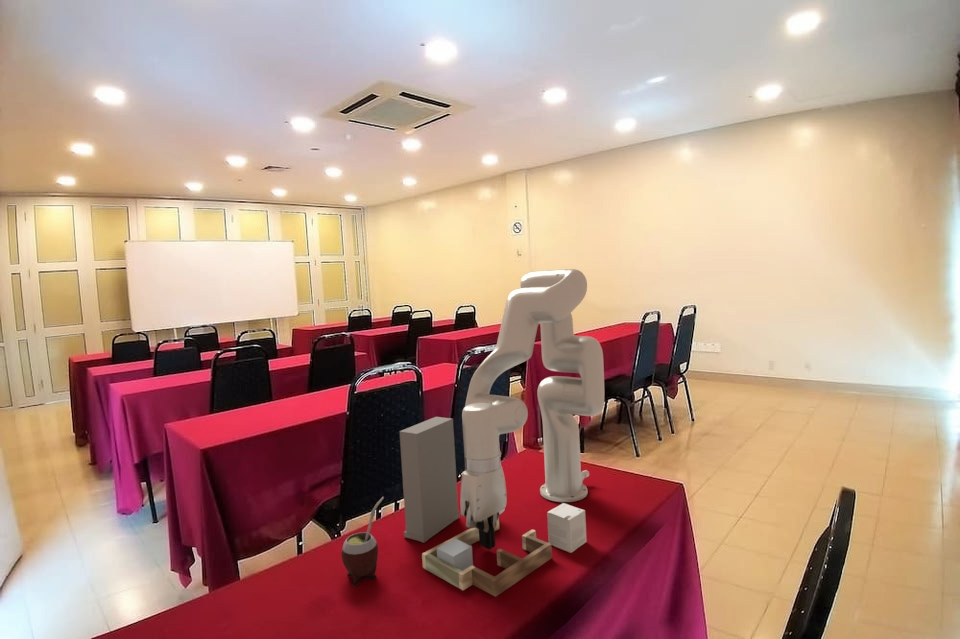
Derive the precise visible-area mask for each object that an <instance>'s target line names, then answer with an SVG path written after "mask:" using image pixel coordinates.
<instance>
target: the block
mask: <svg viewBox="0 0 960 639" xmlns="http://www.w3.org/2000/svg"><path fill="white" fill-rule="evenodd" d="M437 558H439V559H441V560H443V561H445V562H446V563H448V564H450V565H452V566H454V567H456V568H458V569H460V570H462V571H463V570H465V569H467V568H468V567H470V566H474V564H473V563H474V560H473V546H472V545H468V544H466V543H464V542H462V541H460V540H458V539H453V540H451V541H449V542H447V543H445V544H443V545H441V546H440V547H438V548H437Z"/></svg>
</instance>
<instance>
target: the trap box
mask: <svg viewBox="0 0 960 639" xmlns="http://www.w3.org/2000/svg"><path fill="white" fill-rule="evenodd" d="M494 529H495V532H496V531H498V530H500V516H499V517H498V519H497V526H496V527H495V528H494ZM453 539H458V540H460V541H462V542H464V543H466V544H468V545H470V546H472V545H473V544H474V543H475V544H476V543H477V542H479V529H477V528H472V529H470V528H469V529H466V530H464V531H463V532H461V533H459V534H457V535H455V536H453V537H452V538H451V537H450V539H448V540H445V541H444V542H442V543H440V544H437V545H436V546H434V547H432V548H430V549H428V550H426V551H425V552H422V553H421V559H422V568H423V569H424V570H425V571H427V572H430V573H432V575H435V576H437V577H438V578H440V579H443V580H444V581H445V582H447V583H449V584H450V585H452V586H454V587H456V588H458V589H460V590H461V591H465V590H466V589H468V588H469V587H471V586H474V587H477V588H478V589H480V590H482V591H483V592H485V593H488V594H489V595H491V596H493V597H498V596H499V595H501V594H502V593H503V592H505V591H506V590H508V589H509V588H511V587H512V586H513V585H515V584H516V583H519V581H521V580H523V578H526V576H528V575H529V574H531V573H532V572H534V571H535V570H537V569H538V568H540V567H541V566H542V565H544V564H545V563H547V562H548V561H550V560H551V559H552V558H553V555H552V545H551V544H550V543H548V542H547V541H544V540H542V539H540V538H537V531H536V530H535V529H530V530H529V531H527V532H526V533H525V532H524V534H522V535H521V540H522V541H521V542H522V543H521V544H522V550H524V551H526V552H528V553H529V554H527V555H526V556H524V557H522V558H521V557H519V556H518V555H515V554H513V553H511V552H509V551H506V550H504V549H501V548H498V549H496V565H497V566H499V567H501V568H503V569H504V570H502V571H501V572H499V573H498V574H497V575H495V576H494V575H492V574H490V573H488V572H486V571H484V570H482V569H480V568H478V567H476V566H475V565H473V566H470V567H468V568H467V569H465V570H463V571H462V570H460V569H458V568H456V567H454V566H452V565H450V564H448V563H446V562H445V561H443V560H441V559H439V558H437V548H438V547H440V546H441V545H443V544H445V543H447V542H449V541H451V540H453Z"/></svg>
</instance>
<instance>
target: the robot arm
mask: <svg viewBox="0 0 960 639" xmlns="http://www.w3.org/2000/svg"><path fill="white" fill-rule="evenodd" d="M587 281H588V280H587V278H586V276H585V274H584V273H583V272H582V271H581V270H579V269H576V268H567V269H551V270H550V269H549V270H548V269H547V270H537V271H531V272H528V273H525V275H523V276H522V277H521V279H520V288H517V289H515V290H511V292H510V293H509V294H508V296H507V299H506V302H505V307H504V310H503V315H502V318H501V319H502V320H501V324H500V328H499V333H498V335H497V336H498V337H497V342H496V345H495V348H494V350H493V351H492V352H490V354H489V355H487V356H486V358H485V359H484V360H483V361H482V362H481V363H480V365H479V366H478V367H477V369H476V370H475V371H474V373H473V375H472V377H471V379H470V381H469V386H468V390H467V395H466V400H465V405H464V407H463V409H462V413H461V419H462V424H461V425H462V437H463V439H462V440H463V452H464V453H463V454H464V469H465V470H464V471H462V475H461V481H460V491H459V493H460V496H459V499H460V500H459V502H460V503H459V504H460V505H459V506H460V515H461V517H462V518H466V519H465V520H466V521H465V527H466V528H469V529H472V528H477V529H479V540H478V542H479V546H481V547H482V548H485V549H487V550H492V548H495V547H496V534H495V533H496V531H495V529H494V528H495V527H496V526H497V519H498V517H499V518H500V515H501V514H502V513H503V512H505V510H506V509H505V508H506V506H507V485H506V478H505V474H504V470H503V466H502V464H501V456H502V452H501V450H500V435H504V434H509V433H514V432H517V431H518V430H520V429H521V428H523V426H525V424H526V422H527V420H528V416H529V412H528V407H527V404H525V402H524V401H523V400H522V399H520V398H517V397H513V396H508V395H507V396H506V395H498V394H497V395H496V394H490V393H491V389H492V386H493V384H494V383H495V381H496V380H497V378H499V376H501V375H502V374H503V373H504V372H506V371H508V370H510V369H512V368H514V367H515V366H518V365H520V364H522V363H524V362H527V361H528V360H530V359H531V358H532V356H533V352H534V346H535V341H536V336H537V331H538V327H539V326H540V340H541V342H540V344H541V345H540V346H541V360H542V364H543V367H544V368H545V369H547V370H549V371H551V372H558V373H573V374H579V376H580V377H573V376H562V375H560V376H559V375H554V376H548V377H545V378H544V379H542V380H541V381H540V383H539V384H538V387H537V391H536V392H537V402H538V405H539V409H540V415H541V420H542V434H543V435H542V436H543V438H542V439H543V440H542V441H543V457H544V458H543V460H544V477H545V479H544V480H545V483H544V484H542V485H541V486H540V488H539V493H540V495H541V496H542V497H543V498H544V499H545V500H549V501H552V502H557V503H574V502H577V501H581V500H583V499H584V498H586V497H587V496H588V488H587V486H586V485H585V484H583V481H584V480H585V479H587V478H588V477H589V476H590V471H588V470H587V469H585V470H581V467H582V465H581V447H580V446H581V443H580V442H581V441H580V428H579V424H578V422H577V420H576V418H575V416H583V417H584V416H585V417H595V416H597V415H600V413H601V412H602V410H603V409H604V405H605V371H604V370H605V368H604V352H603V348H602V346H601V343H600V342H599V340H598V339H596V338H594V337H593V336H589V335H575V332H574V322H573V314H572V312H573V311H575V309H577V307H578V306H579V305H580V304H581V303H583V302H582V301H583V300H584V298H585V296H587V292H588V282H587ZM574 415H575V416H574ZM481 521H482V522H481Z"/></svg>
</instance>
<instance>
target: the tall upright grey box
mask: <svg viewBox="0 0 960 639" xmlns="http://www.w3.org/2000/svg"><path fill="white" fill-rule="evenodd" d="M398 432H399V444H400V445H399V447H400V460H401V461H400V462H401V473H402V474H401V475H402V489H403V491H402V492H403V505H404V517H405V518H404V519H405V520H404V522H405V531H403V537H404V538H406V539H410V540H414V541H418V542H421V543H422V544H423V543H426V542H427V541H428V540H429V539H432V537H434V536H435V535H436V534H438V533H439V532H441V531H442V530H443V529H445V528H446V527H448V526H449V525H450V524H452V523H453V522H455V521H457V520H458V519H460V512H459V502H458V501H459V500H458V483H457V482H458V481H457V467H456V449H455V432H454V418H451V417H441V416H434V417H432V418H429V419H427V420H424V421H422V422H419V423H417V424H414V425H412V426H410V427H409V426H408V427H406V428H405V429H402V430H399V431H398Z"/></svg>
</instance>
